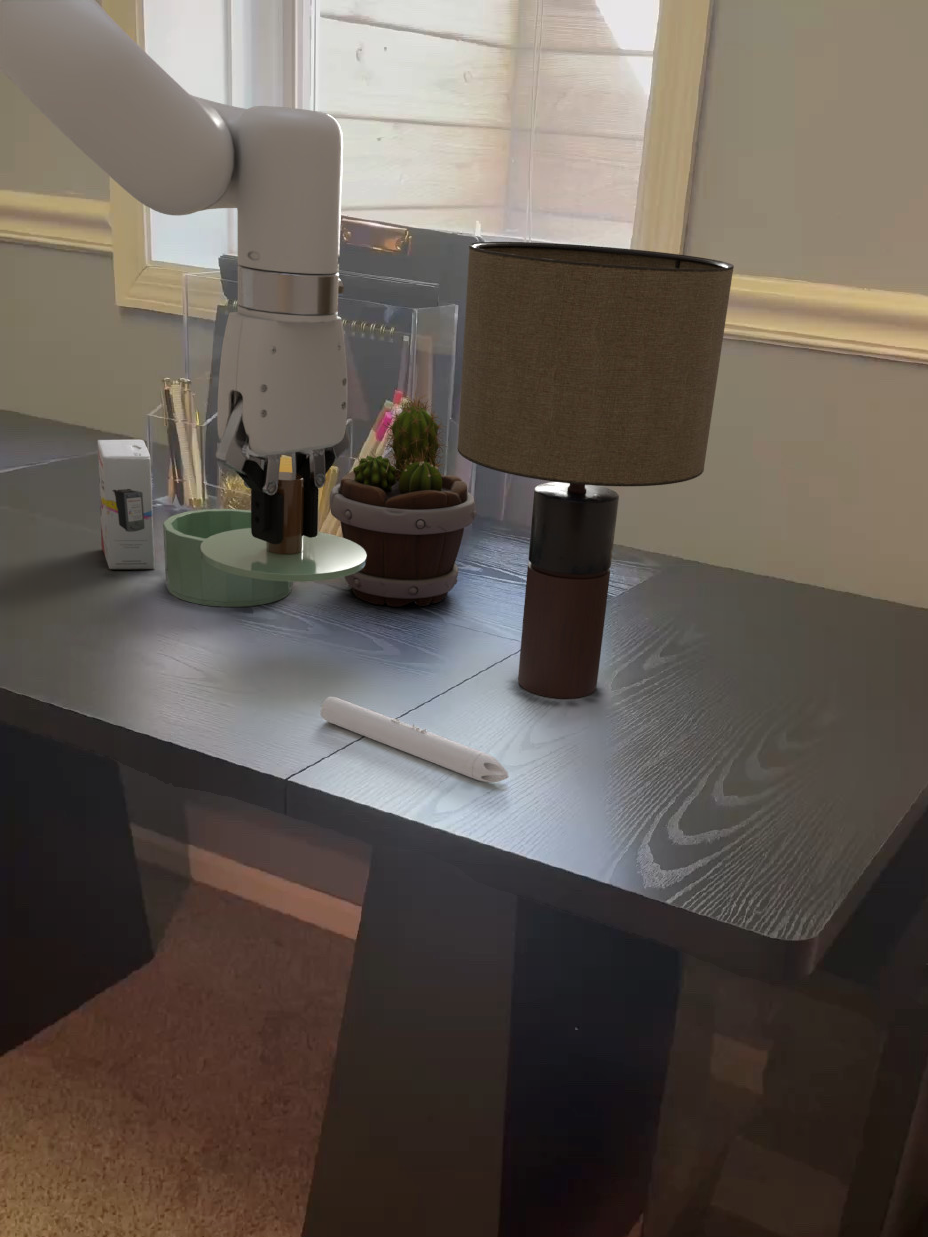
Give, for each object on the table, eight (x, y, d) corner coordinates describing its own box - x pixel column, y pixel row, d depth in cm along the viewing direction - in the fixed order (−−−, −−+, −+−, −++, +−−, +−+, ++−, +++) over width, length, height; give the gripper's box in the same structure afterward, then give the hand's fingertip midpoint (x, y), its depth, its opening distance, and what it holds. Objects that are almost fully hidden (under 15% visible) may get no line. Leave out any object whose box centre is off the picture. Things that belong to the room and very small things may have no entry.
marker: (516, 785, 97) (518, 756, 96) (499, 794, 95) (501, 765, 94) (337, 716, 106) (338, 689, 105) (319, 723, 104) (320, 696, 103)
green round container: (175, 609, 126) (172, 543, 123) (160, 571, 137) (156, 509, 134) (303, 604, 130) (303, 540, 127) (278, 567, 141) (278, 507, 138)
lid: (214, 590, 100) (213, 496, 97) (189, 541, 111) (188, 455, 108) (384, 587, 104) (389, 497, 101) (344, 540, 115) (347, 457, 112)
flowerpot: (441, 625, 127) (453, 414, 118) (301, 599, 132) (302, 393, 122) (491, 587, 140) (506, 393, 130) (361, 564, 144) (366, 374, 134)
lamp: (715, 693, 116) (785, 267, 100) (567, 749, 103) (619, 269, 86) (549, 631, 128) (586, 242, 112) (397, 673, 115) (414, 240, 99)
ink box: (101, 548, 143) (93, 437, 137) (148, 547, 144) (142, 438, 139) (108, 571, 135) (100, 456, 130) (157, 570, 137) (152, 456, 131)
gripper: (333, 287, 106) (326, 513, 114) (168, 289, 94) (174, 540, 103) (399, 300, 101) (387, 533, 110) (235, 304, 90) (235, 563, 99)
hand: (284, 534), depth 107 cm, fingers closed on lid, 3 cm apart
